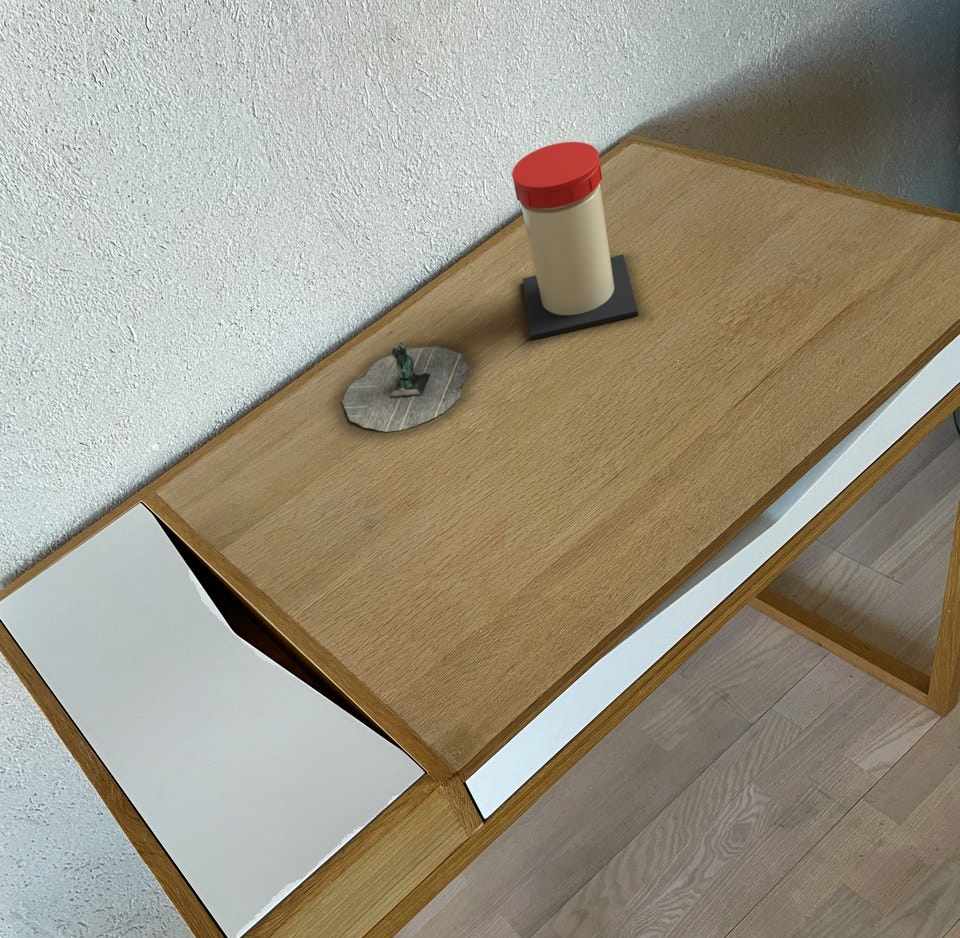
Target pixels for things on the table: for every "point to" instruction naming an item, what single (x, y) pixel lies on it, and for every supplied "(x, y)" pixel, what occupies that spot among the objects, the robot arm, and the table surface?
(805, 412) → the table surface
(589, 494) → the table surface
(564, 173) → the lid
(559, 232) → the jar
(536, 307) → the mat
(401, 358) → the sculpture
